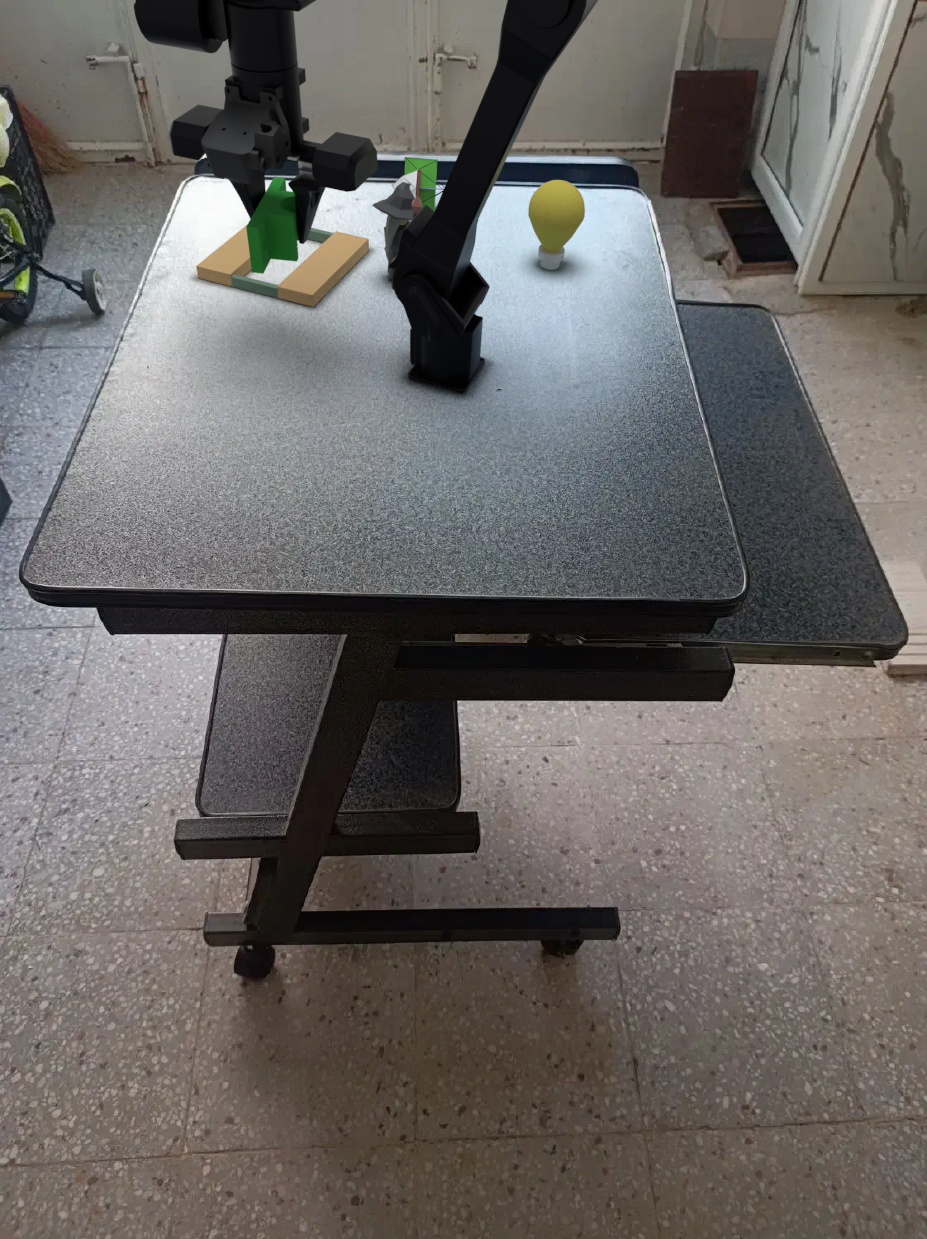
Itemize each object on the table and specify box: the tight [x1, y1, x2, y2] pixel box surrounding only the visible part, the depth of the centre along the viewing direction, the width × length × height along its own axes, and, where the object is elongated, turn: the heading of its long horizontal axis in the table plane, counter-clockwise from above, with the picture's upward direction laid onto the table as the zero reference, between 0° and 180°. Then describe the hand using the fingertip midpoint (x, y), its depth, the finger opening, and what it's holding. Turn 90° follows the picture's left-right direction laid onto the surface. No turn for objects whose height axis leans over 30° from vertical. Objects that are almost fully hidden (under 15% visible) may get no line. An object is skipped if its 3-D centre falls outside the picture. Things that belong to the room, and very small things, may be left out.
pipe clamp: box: [245, 176, 299, 275], centre depth 88 cm, size 11×4×5 cm, turn 175°
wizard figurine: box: [372, 182, 422, 283], centre depth 102 cm, size 8×6×12 cm
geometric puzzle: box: [391, 155, 445, 211], centre depth 116 cm, size 7×7×8 cm
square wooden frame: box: [195, 223, 370, 308], centre depth 108 cm, size 15×15×2 cm
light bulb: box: [527, 179, 586, 271], centre depth 107 cm, size 7×7×10 cm
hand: (282, 237), depth 89 cm, fingers closed on pipe clamp, 4 cm apart
